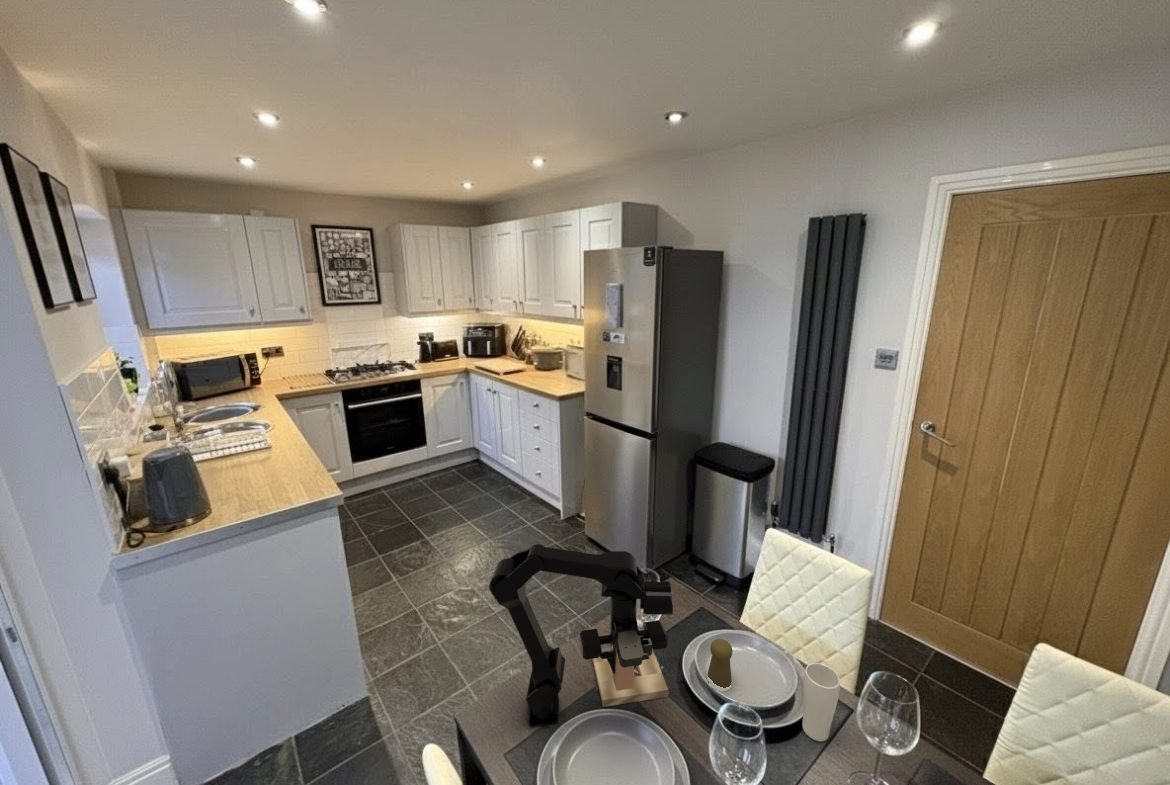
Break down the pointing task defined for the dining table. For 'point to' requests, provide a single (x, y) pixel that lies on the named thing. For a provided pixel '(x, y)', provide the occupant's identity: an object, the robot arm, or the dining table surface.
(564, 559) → the robot arm
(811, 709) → the drinking glass
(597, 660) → the wooden square hole board
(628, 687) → the brown tall block
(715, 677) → the olive brown pawn
